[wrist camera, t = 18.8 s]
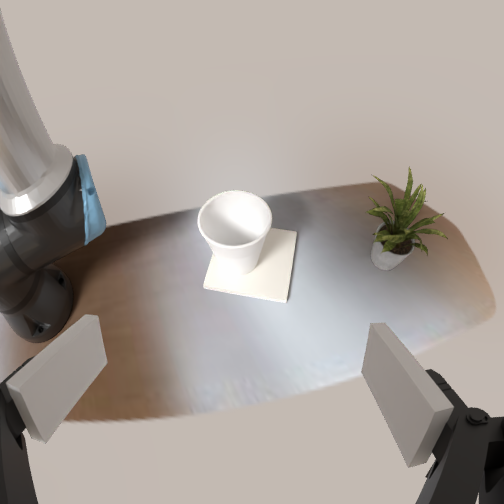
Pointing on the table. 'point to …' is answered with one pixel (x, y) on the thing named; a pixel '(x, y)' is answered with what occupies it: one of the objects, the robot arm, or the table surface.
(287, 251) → the placemat
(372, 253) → the house plant
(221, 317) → the table surface
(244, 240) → the cup
